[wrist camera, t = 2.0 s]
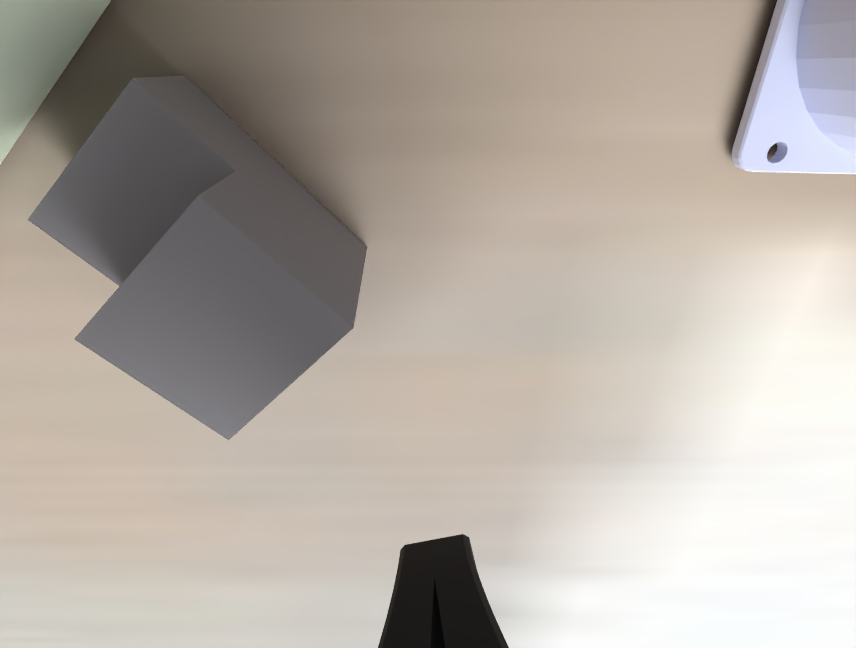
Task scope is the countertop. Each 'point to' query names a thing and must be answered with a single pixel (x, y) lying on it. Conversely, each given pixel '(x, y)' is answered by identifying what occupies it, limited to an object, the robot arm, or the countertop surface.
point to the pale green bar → (37, 55)
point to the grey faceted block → (202, 254)
